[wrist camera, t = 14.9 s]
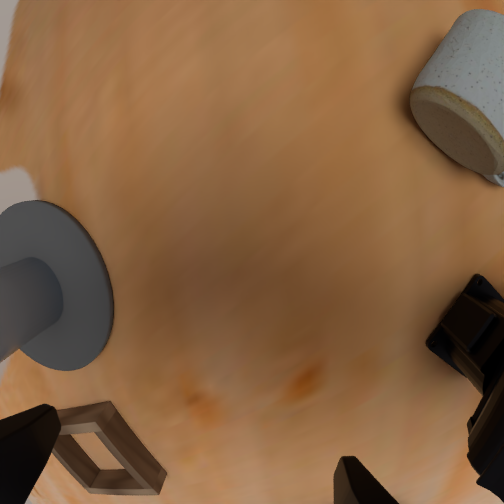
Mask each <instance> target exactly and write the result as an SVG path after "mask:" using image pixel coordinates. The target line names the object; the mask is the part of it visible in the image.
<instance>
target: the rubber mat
mask: <svg viewBox="0 0 504 504" xmlns="http://www.w3.org/2000/svg"><path fill="white" fill-rule="evenodd" d="M27 257H35V258H38V259H40V260H42V261H44V262H45V263H46V264H47V265H48V266H49V267H50V268H51V269H52V271H53V272H54V274H55V275H56V277H57V279H58V281H59V283H60V286H61V289H62V294H63V311H62V314H61V317H60V318H59V320H58V321H57V322H56V323H54V324H53V325H52V326H50V327H49V328H47V329H46V330H45V331H43V332H42V333H40V334H39V335H38V336H36V337H35V338H33V339H32V340H31V341H29V342H28V343H26V344H25V345H24V346H22V347H21V348H20V350H22V351H23V352H24V353H25V354H26V355H27V356H29V357H30V358H31V359H33V360H34V361H36V362H38V363H40V364H41V365H44V366H46V367H48V368H52V369H55V370H62V371H71V370H76V369H80V368H82V367H84V366H86V365H88V364H89V363H90V362H92V361H93V360H94V359H95V358H96V357H97V356H98V354H99V353H100V352H101V351H102V350H103V348H104V347H105V345H106V343H107V341H108V339H109V336H110V333H111V329H112V325H113V315H114V307H113V295H112V288H111V284H110V279H109V276H108V273H107V269H106V266H105V264H104V261H103V259H102V257H101V254H100V252H99V250H98V249H97V247H96V245H95V243H94V241H93V240H92V238H91V237H90V235H89V234H88V233H87V231H86V230H85V229H84V228H83V226H82V225H81V224H80V223H79V222H78V221H77V220H76V219H75V218H74V217H73V216H72V215H71V214H69V213H68V212H67V211H65V210H64V209H62V208H61V207H59V206H57V205H55V204H52V203H49V202H46V201H39V200H33V201H24V202H20V203H17V204H14V205H12V206H10V207H9V208H7V209H6V210H5V211H4V212H2V214H1V215H0V267H3V266H5V265H8V264H11V263H13V262H16V261H19V260H21V259H24V258H27Z"/></svg>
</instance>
